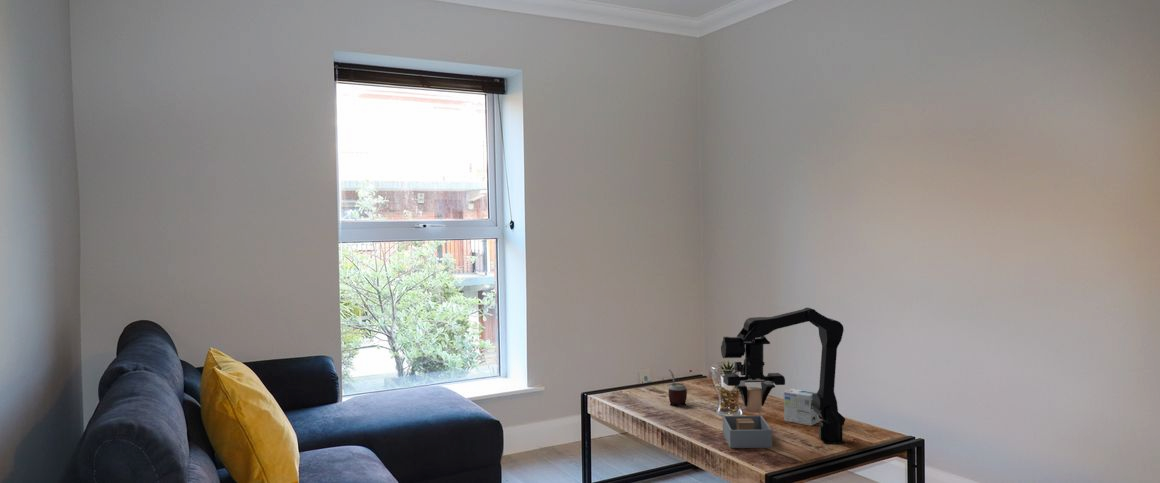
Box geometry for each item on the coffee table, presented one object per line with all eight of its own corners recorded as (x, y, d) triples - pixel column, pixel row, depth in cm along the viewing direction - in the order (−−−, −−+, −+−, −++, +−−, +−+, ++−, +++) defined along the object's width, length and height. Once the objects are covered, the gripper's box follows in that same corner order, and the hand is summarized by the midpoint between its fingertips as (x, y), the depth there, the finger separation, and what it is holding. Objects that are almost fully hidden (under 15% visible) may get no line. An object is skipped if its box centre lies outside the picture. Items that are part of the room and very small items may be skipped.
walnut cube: (754, 437, 250) (754, 422, 250) (739, 437, 250) (738, 422, 250) (751, 433, 255) (751, 418, 255) (736, 433, 255) (736, 418, 255)
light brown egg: (763, 412, 242) (764, 390, 242) (748, 412, 242) (748, 390, 241) (758, 408, 247) (759, 387, 247) (743, 408, 247) (744, 387, 246)
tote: (761, 431, 258) (761, 415, 258) (772, 447, 241) (772, 430, 241) (722, 432, 259) (722, 415, 259) (730, 447, 242) (730, 430, 242)
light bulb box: (820, 422, 269) (819, 391, 268) (811, 426, 264) (811, 395, 264) (792, 417, 276) (792, 387, 276) (783, 421, 271) (783, 391, 271)
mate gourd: (685, 402, 300) (684, 364, 299) (688, 407, 292) (688, 369, 292) (666, 403, 300) (665, 365, 299) (669, 408, 292) (668, 369, 291)
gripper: (774, 352, 253) (773, 399, 253) (719, 353, 251) (718, 400, 252) (786, 359, 241) (785, 407, 242) (728, 359, 240) (728, 409, 240)
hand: (753, 405), depth 244 cm, fingers closed on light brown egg, 5 cm apart
